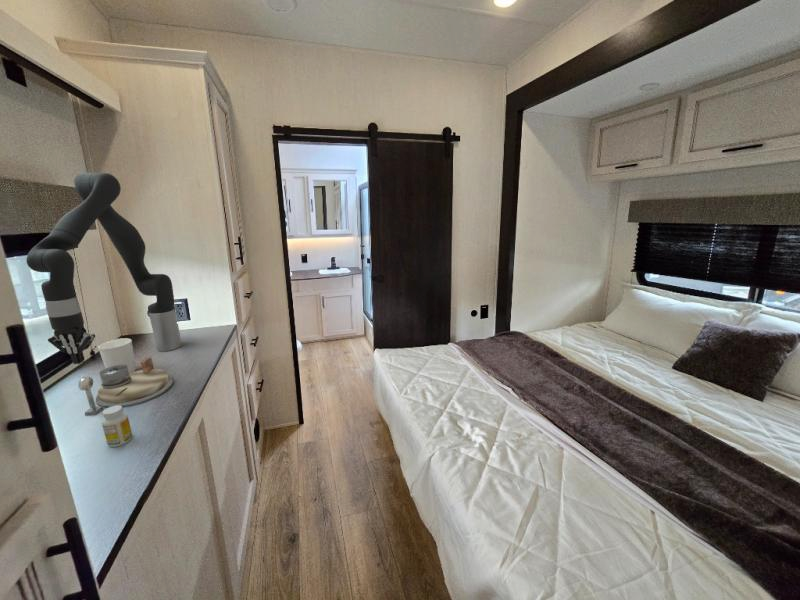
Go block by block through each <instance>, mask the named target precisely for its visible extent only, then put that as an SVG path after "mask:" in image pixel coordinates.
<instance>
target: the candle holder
mask: <svg viewBox="0 0 800 600" xmlns="http://www.w3.org/2000/svg"><path fill="white" fill-rule="evenodd" d="M133 347H134V346H133V340H132V339H131V338H127V337H126V338H123V337H122V338H116V339H112V340H109V341H105V342H103V343H101V344H98V346H97V349H98V351H99V354H100V357H101V359H102V362H103V366H104V369H106V368H108V367H111V366H116V365H126V366H127V368H128V372H129V373H131V372H135V371H137V366H136V361H135V352H134V348H133Z"/></svg>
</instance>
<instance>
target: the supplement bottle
mask: <svg viewBox="0 0 800 600" xmlns="http://www.w3.org/2000/svg"><path fill="white" fill-rule="evenodd" d="M102 416H103V419H102V420H101V426H102V427H101V428H102V430H103V434H104V436H105V440H106V441H105V442H106V445H107V446H108V447H110V448H111V447H112V448H116V447H119V446H123V445H125V444H127V443H129V442H130V441H131V440H132V438H133V431H132V427H131V425H130V419H129V416H128V414H127V412H126V411H124V407H122V406H119V405H117V406H112V407H109V408H104V409H103V410H102Z"/></svg>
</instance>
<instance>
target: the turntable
mask: <svg viewBox="0 0 800 600" xmlns="http://www.w3.org/2000/svg"><path fill="white" fill-rule="evenodd" d="M140 365H141V370H135V371H134V372H131V373H129V376H131V379H132V380H131V381H130V382H129V383H128V384H126V385H124V386H121V387H118V388H113V389H103V388H102V385H101V386H100V387H99V388H98V390H97V395H99V398H100V400H101V401H103V402H107V403H120V402H127V401H132V400H136V399H139V398H142V397H145V396H148V395H150V394H152V393H154V392H156V391H158V390H160V389H161V388H163V387H164V386H165V385H166V384H167V383H168V381H169V377H168V375H169V374H168V371H167V370H164V369H160V368H154V364H153V359H152V357H151V356H148V357H146V358H144V359H143V360H142V361H140Z"/></svg>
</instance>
